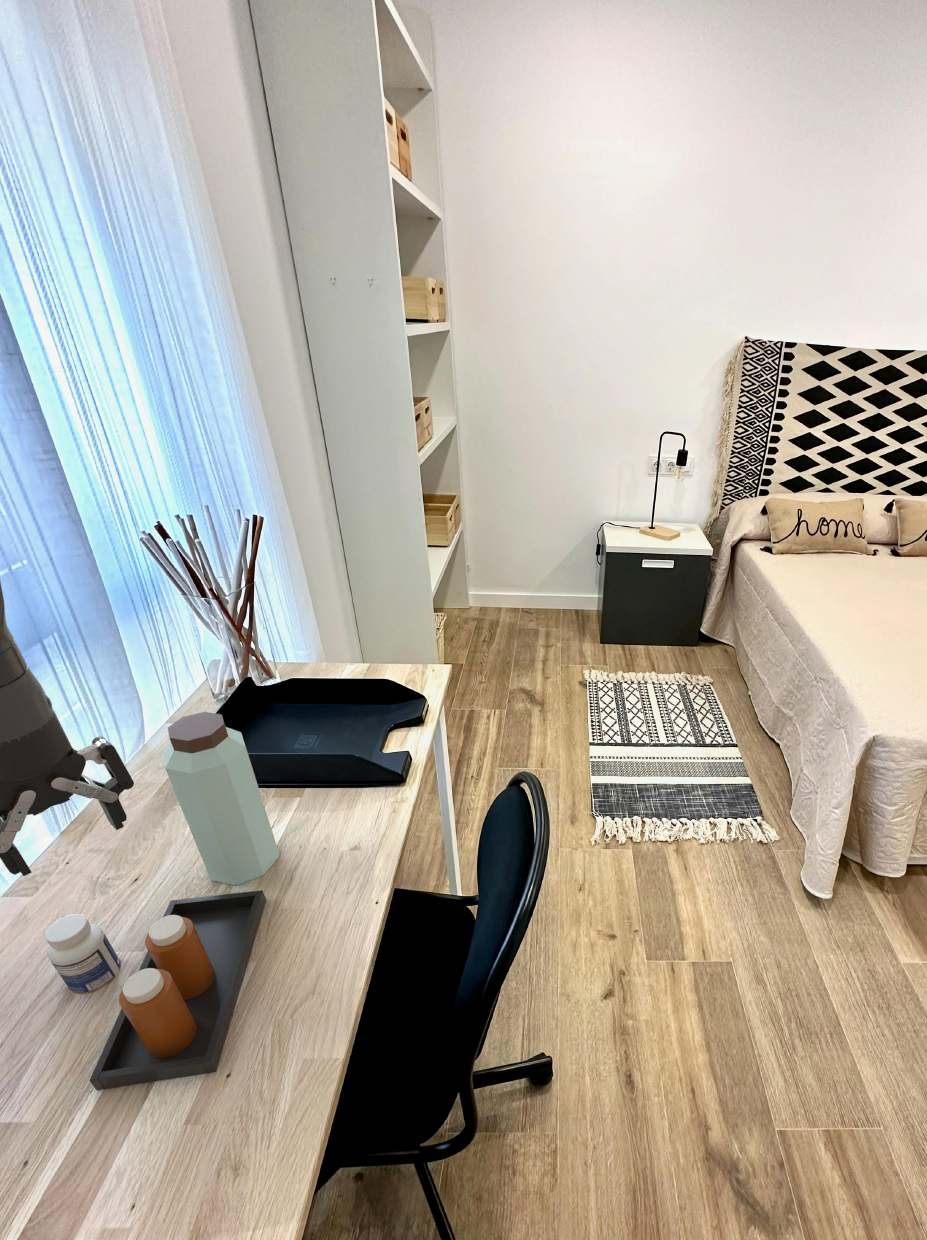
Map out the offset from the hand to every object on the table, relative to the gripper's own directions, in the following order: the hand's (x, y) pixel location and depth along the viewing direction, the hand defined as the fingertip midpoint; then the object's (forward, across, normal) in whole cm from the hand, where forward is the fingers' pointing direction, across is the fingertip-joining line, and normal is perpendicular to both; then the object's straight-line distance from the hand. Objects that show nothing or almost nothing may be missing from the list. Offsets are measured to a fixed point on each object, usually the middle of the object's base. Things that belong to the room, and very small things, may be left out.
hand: (72, 847), depth 67 cm
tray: (+21, -3, +7) cm, 23 cm away
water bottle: (+22, -17, -7) cm, 29 cm away
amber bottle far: (+20, +2, +12) cm, 24 cm away
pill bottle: (+22, +4, -3) cm, 22 cm away
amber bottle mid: (+20, -3, +7) cm, 22 cm away
